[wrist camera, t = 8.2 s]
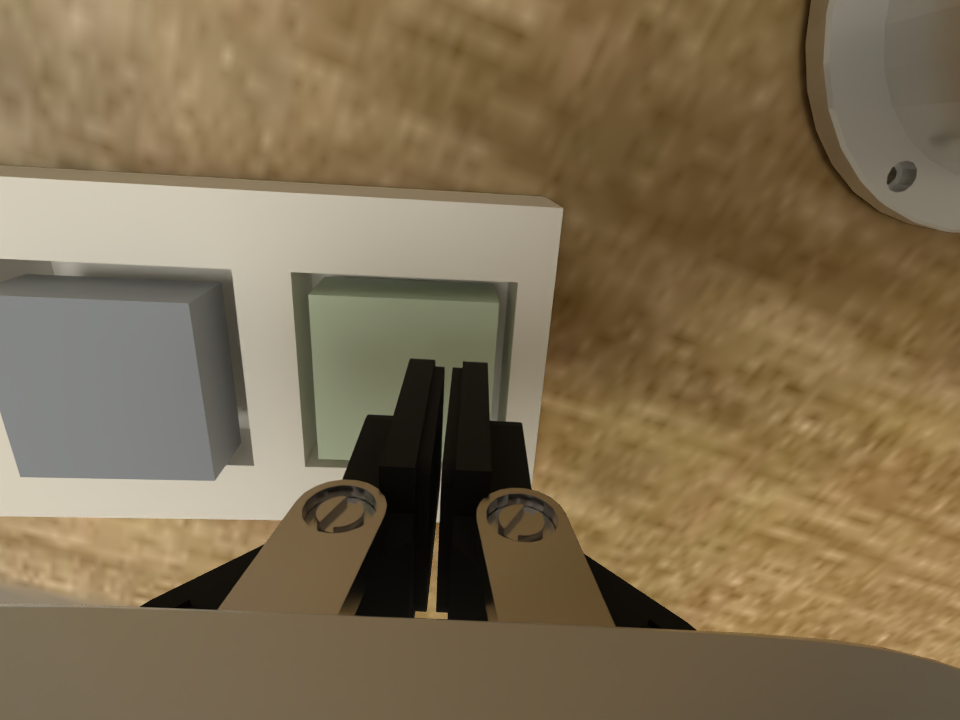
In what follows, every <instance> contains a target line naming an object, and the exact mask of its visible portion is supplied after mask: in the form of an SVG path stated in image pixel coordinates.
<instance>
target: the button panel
mask: <svg viewBox="0 0 960 720" xmlns="http://www.w3.org/2000/svg"><path fill="white" fill-rule="evenodd" d="M562 217H563V208H562V207H561V206H559V205H558V204H556V203H554V202H553V201H551V200H549V199H548V198H546V197H544V196H527V195H509V194H492V193H475V192H457V191H440V190H423V189H405V188H388V187H371V186H353V185H336V184H319V183H301V182H284V181H267V180H249V179H232V178H215V177H197V176H180V175H163V174H146V173H128V172H111V171H94V170H76V169H59V168H42V167H24V166H7V165H0V282H3V281H6V280H9V279H12V278H15V277H19V276H22V275H25V274H39V275H62V276H85V277H107V278H130V279H152V280H175V281H197V282H220V283H222V290H223V298H224V306H225V315H226V323H227V331H228V339H229V347H230V355H231V363H232V371H233V379H234V387H235V395H236V403H237V411H238V419H239V427H240V436H241V444H240V445H239V447H238V448H237V450H236V451H235V452H234V454H233V455H232V457H231V458H230V460H229V461H228V463H227V464H226V466H225V467H224V469H223V470H222V471H221V473H220V474H219V476H218V477H217V479H216V480H215V481H195V480H143V479H90V478H37V477H20V474H19V471H18V468H17V465H16V461H15V458H14V455H13V452H12V449H11V445H10V442H9V439H8V436H7V433H6V429H5V426H4V423H3V420H2V416H1V413H0V516H26V517H97V518H169V519H240V520H283V518H284V517H285V516H286V514H287V513H288V511H289V510H290V509H291V507H292V506H293V505H294V503H295V502H296V501H297V500H298V499H299V498H300V497H301V496H302V495H303V494H304V493H305V492H306V491H308V490H310V489H311V488H313V487H315V486H317V485H320V484H323V483H326V482H329V481H336V480H342V479H343V476H344V473H345V471H346V468H347V466H348V463H349V460H335V459H318V444H317V428H316V412H315V395H314V379H313V363H312V347H311V331H310V315H309V299H308V294H309V293H310V292H311V291H312V290H313V289H314V288H315V287H316V286H317V285H318V283H319V282H320V281H321V280H322V279H323V278H324V277H344V278H366V279H388V280H410V281H432V282H454V283H476V284H494V287H495V290H496V294H497V297H498V300H499V314H498V327H497V341H496V354H495V367H494V380H493V393H492V406H491V419H490V421H507V422H521V423H522V426H523V432H524V439H525V446H526V453H527V460H528V467H529V474H530V481H531V487H532V478H533V470H534V461H535V452H536V443H537V435H538V426H539V417H540V409H541V400H542V391H543V382H544V374H545V365H546V356H547V348H548V339H549V330H550V321H551V313H552V304H553V295H554V286H555V278H556V269H557V260H558V252H559V243H560V234H561V225H562ZM441 476H442V462H441ZM440 498H441V480H440V491H439V501H438V510H437V519H436V522H440Z"/></svg>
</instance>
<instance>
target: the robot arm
mask: <svg viewBox="0 0 960 720" xmlns="http://www.w3.org/2000/svg"><path fill="white" fill-rule="evenodd" d="M805 48H806V76H807V92H808V97H809V101H810V106H811V110H812V114H813V119H814V123H815V128H816V131H817V133H818V136H819V138H820V140H821V142H822V144H823V146H824V149H825V151H826V153H827V155H828V157H829V159H830V161H831V164H832V165H833V167H834V168H835V169H836V170H837V172H838V173H839V174H840V175H841V177H842V178H843V179H844V180H845V182H846V183H847V184H848V185H849V187H850V188H851V189H852V191H853V192H854V193H856V194H857V195H858V196H860V197H861V198H862V199H864V200H865V201H866V202H868V203H869V204H870V205H872V206H873V207H874V208H876V209H877V210H878V211H879V212H882V213H884V214H886V215H889V216H891V217H893V218H896V219H898V220H901V221H903V222H905V223H908V224H910V225H915V226H921V227H926V228H930V229H935V230H940V231H944V232H952V233H960V0H811V5H810V13H809V20H808V28H807V36H806V43H805ZM444 379H445V367H439V366H436V362H435V360H431V359H413V358H410V360H409V363H408V367H407V370H406V373H405V377H404V380H403V384H402V387H401V391H400V394H399V397H398V401H397V404H396V408H395V411H394V415H393V416H391V415H372V414H369V415H367V416H366V418H365V421H364V424H363V426H362V429H361V431H360V434H359V437H358V439H357V442H356V445H355V447H354V450H353V452H352V455H351V458H350V460H349V463H348V466H347V468H346V471H345V473H344V476H343V479H342V480H336V481H329V482H326V483H323V484H320V485H317V486H315V487H313V488H311V489H310V490H308V491H306V492H305V493H304V494H303V495H302V496H301V497H300V498H299V499H298V500H297V501H296V502H295V503H294V505H293V506H292V507H291V509H290V510H289V511H288V513H287V514H286V516H285V517H284V518H283V520H282V521H281V522H280V524H279V525H278V527H277V528H276V529H275V531H274V532H273V534H272V535H271V536H270V538H269V539H268V540H267V542H266V543H265V544H264V545H262V546H260V547H258V548H256V549H254V550H252V551H250V552H248V553H246V554H244V555H242V556H240V557H238V558H236V559H234V560H232V561H230V562H227V563H225V564H223V565H221V566H219V567H217V568H215V569H213V570H211V571H209V572H207V573H205V574H203V575H201V576H199V577H197V578H195V579H193V580H191V581H189V582H187V583H185V584H183V585H181V586H179V587H177V588H175V589H172V590H170V591H168V592H166V593H164V594H162V595H160V596H158V597H156V598H154V599H152V600H150V601H149V602H147V603H145V604H144V605H142V606H140V607H124V606H96V605H68V604H0V720H960V669H959V668H956V667H953V666H951V665H948V664H945V663H942V662H939V661H936V660H933V659H929V658H924V657H920V656H916V655H912V654H908V653H904V652H900V651H896V650H891V649H887V648H883V647H878V646H871V645H865V644H858V643H852V642H845V641H839V640H829V639H816V638H804V637H791V636H779V635H766V634H754V633H736V632H715V631H697V630H696V629H694V628H693V627H692V626H691V625H690V624H688V623H687V622H686V621H684V620H683V619H681V618H680V617H678V616H677V615H675V614H674V613H672V612H671V611H669V610H668V609H666V608H665V607H663V606H662V605H660V604H659V603H657V602H656V601H654V600H653V599H651V598H650V597H648V596H647V595H645V594H644V593H642V592H641V591H639V590H638V589H636V588H635V587H633V586H632V585H630V584H629V583H627V582H626V581H624V580H623V579H621V578H620V577H618V576H617V575H615V574H614V573H612V572H611V571H609V570H608V569H606V568H605V567H603V566H602V565H600V564H599V563H597V562H596V561H594V560H593V559H591V558H590V557H588V556H587V555H585V554H584V553H583V551H582V549H581V547H580V544H579V542H578V540H577V538H576V535H575V533H574V531H573V529H572V526H571V524H570V522H569V519H568V517H567V515H566V513H565V512H564V510H563V509H562V507H561V506H560V505H559V504H558V503H557V502H556V501H554V500H553V499H552V498H551V497H549V496H547V495H545V494H543V493H541V492H538V491H534V490H532V488H531V481H530V474H529V467H528V460H527V453H526V446H525V439H524V432H523V426H522V423H521V422H507V421H490V412H489V384H488V363H486V362H468V361H463V367H462V368H457V367H453V368H452V378H451V387H450V396H449V406H448V415H447V424H446V434H445V443H444V453H443V462H442V476H441V458H442V432H443V405H444ZM440 480H441V498H440V524H439V550H438V576H437V603H436V612H446V613H448V619H426V618H414V617H415V611H422V612H426V611H427V604H428V595H429V585H430V576H431V566H432V557H433V548H434V538H435V529H436V519H437V510H438V501H439V491H440Z"/></svg>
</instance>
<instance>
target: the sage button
mask: <svg viewBox="0 0 960 720" xmlns="http://www.w3.org/2000/svg"><path fill="white" fill-rule="evenodd" d="M308 299H309V315H310V331H311V347H312V363H313V379H314V395H315V412H316V428H317V444H318V459H335V460H350V458H351V455H352V452H353V450H354V447H355V445H356V442H357V439H358V437H359V434H360V431H361V429H362V426H363V424H364V421H365V418H366V416H367V415H369V414H372V415H391V416H393V415H394V411H395V408H396V404H397V401H398V397H399V394H400V391H401V387H402V384H403V380H404V377H405V373H406V370H407V367H408V363H409V360H410V358H413V359H431V360H435V362H436V366H439V367H445V379H444V405H443V432H442V458H441V462H443V453H444V443H445V434H446V424H447V415H448V406H449V396H450V387H451V378H452V368H453V367H457V368H462V367H463V361H468V362H486V363H488V384H489V412H490V419H491V406H492V393H493V380H494V367H495V354H496V341H497V327H498V314H499V300H498V297H497V294H496V290H495V287H494V284H476V283H454V282H432V281H410V280H388V279H366V278H344V277H324V278H323V279H322V280H321V281H320V282H319V283H318V285H317V286H316V287H315V288H314V289H313V290H312V291H311V292H310V293H309V294H308Z"/></svg>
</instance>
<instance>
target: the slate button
mask: <svg viewBox="0 0 960 720" xmlns="http://www.w3.org/2000/svg"><path fill="white" fill-rule="evenodd" d="M0 413H1V416H2V420H3V423H4V426H5V429H6V433H7V436H8V439H9V442H10V445H11V449H12V452H13V455H14V458H15V461H16V465H17V468H18V471H19V474H20V477H37V478H90V479H143V480H195V481H215V480H216V479H217V477H218V476H219V474H220V473H221V471H222V470H223V469H224V467H225V466H226V464H227V463H228V461H229V460H230V458H231V457H232V455H233V454H234V452H235V451H236V450H237V448H238V447H239V445H240V444H241V436H240V427H239V419H238V411H237V403H236V395H235V387H234V379H233V371H232V363H231V355H230V347H229V339H228V331H227V323H226V315H225V306H224V298H223V290H222V283H220V282H197V281H175V280H152V279H130V278H107V277H85V276H62V275H39V274H25V275H22V276H19V277H15V278H12V279H9V280H6V281H3V282H0Z"/></svg>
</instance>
